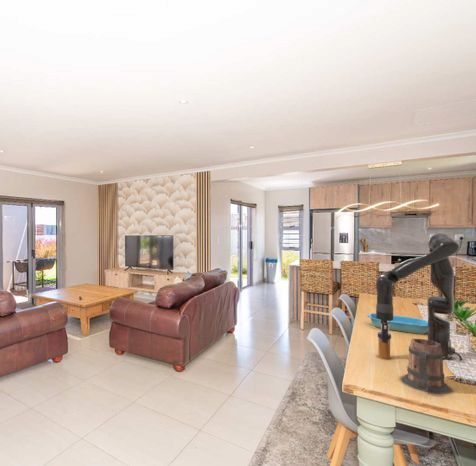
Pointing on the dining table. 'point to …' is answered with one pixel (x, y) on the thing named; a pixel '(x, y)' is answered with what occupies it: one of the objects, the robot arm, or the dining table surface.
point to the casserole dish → (403, 324)
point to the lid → (381, 335)
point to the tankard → (426, 367)
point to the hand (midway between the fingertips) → (384, 340)
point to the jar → (384, 349)
